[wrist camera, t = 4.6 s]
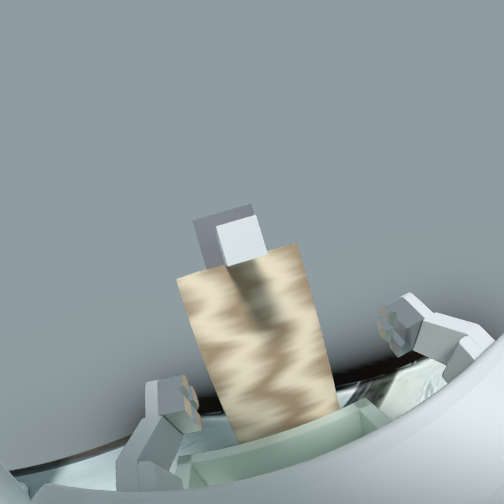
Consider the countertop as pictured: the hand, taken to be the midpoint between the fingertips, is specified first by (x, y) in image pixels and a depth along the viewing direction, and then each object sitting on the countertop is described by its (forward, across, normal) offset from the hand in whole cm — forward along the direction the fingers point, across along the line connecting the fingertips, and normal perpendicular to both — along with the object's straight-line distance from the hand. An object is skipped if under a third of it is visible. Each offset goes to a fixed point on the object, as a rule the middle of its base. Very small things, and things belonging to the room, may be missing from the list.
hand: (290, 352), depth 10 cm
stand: (+7, 0, +30) cm, 31 cm away
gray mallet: (+15, 0, +4) cm, 16 cm away
